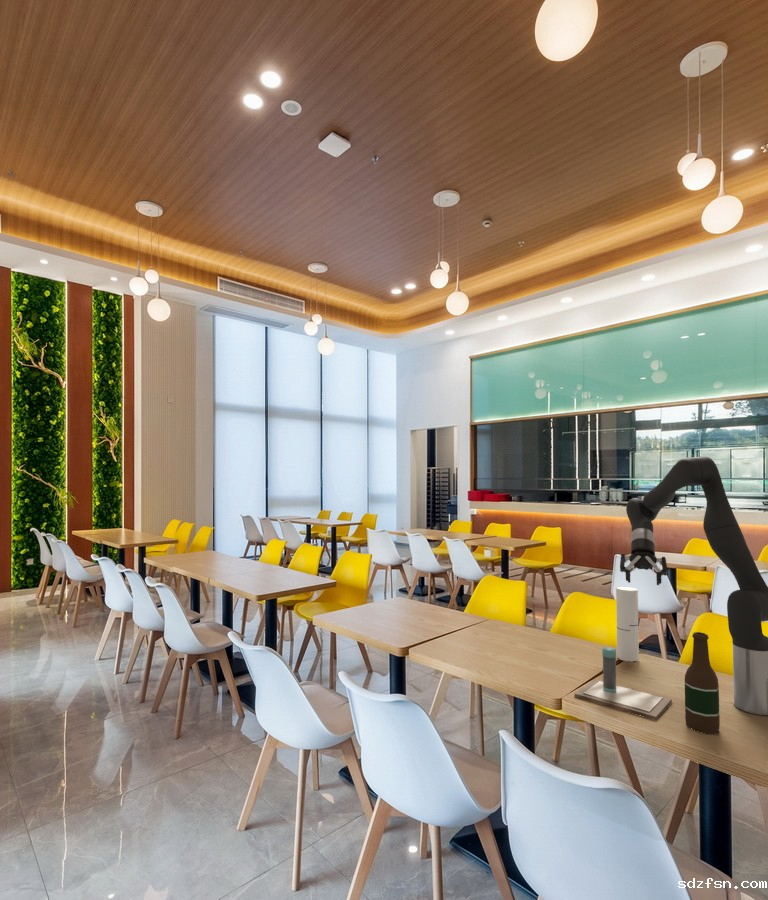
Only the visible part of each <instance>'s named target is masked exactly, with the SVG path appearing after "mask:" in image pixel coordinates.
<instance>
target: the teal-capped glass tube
mask: <svg viewBox="0 0 768 900" xmlns="http://www.w3.org/2000/svg"><path fill="white" fill-rule="evenodd" d="M601 649H602V651H601V652H602V681H603V690H604V691H606V692H610V693H615V692H616V685H617V648H613V647H607V646H605V647H602V648H601Z"/></svg>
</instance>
